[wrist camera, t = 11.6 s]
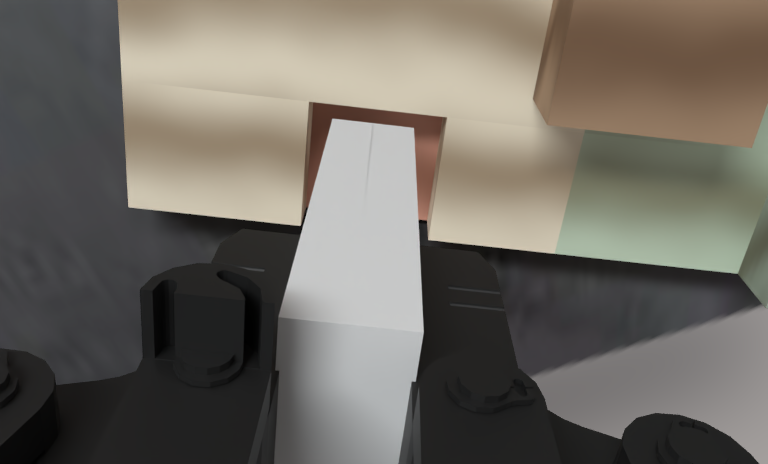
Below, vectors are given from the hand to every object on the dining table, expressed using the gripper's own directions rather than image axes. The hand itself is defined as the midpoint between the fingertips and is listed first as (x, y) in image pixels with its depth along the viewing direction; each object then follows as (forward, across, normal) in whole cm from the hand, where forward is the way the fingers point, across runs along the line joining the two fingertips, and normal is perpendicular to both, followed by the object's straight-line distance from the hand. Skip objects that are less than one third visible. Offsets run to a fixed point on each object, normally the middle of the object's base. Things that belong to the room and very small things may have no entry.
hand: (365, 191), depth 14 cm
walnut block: (+18, -11, 0) cm, 21 cm away
